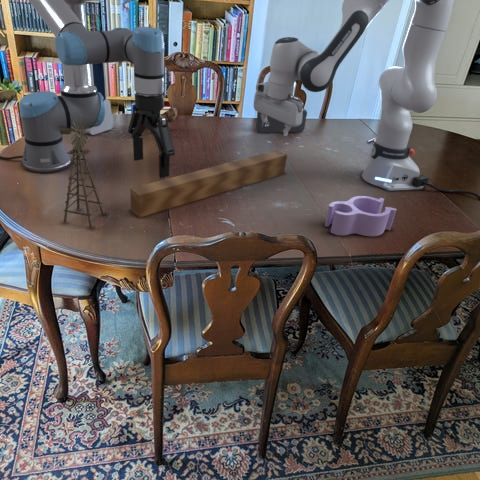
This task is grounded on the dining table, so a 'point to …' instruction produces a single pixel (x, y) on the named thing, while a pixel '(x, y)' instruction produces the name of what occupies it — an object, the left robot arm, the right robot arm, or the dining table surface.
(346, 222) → the clip
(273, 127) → the handheld gaming console
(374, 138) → the sword
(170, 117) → the lion figurine
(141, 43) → the left robot arm
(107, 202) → the dining table surface
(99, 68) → the electronic device
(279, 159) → the bar
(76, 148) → the miniature windmill
